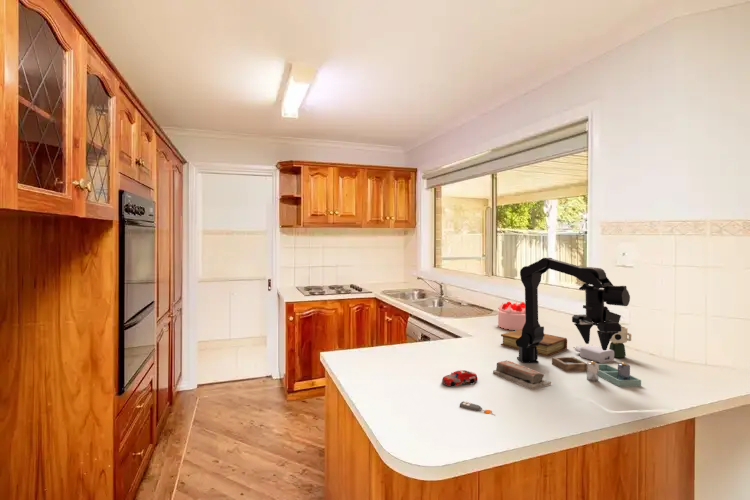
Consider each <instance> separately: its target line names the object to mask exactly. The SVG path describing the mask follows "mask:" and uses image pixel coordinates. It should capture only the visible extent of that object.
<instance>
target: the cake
mask: <svg viewBox="0 0 750 500" xmlns="http://www.w3.org/2000/svg"><path fill="white" fill-rule="evenodd" d="M497 308H498V315H497V317H498V318H497V323H498V324H497V325H498V327H499V328H500V327H501V329H503V328H504V329H503V330H507V329H509V330H508V331H513V330H519V329H522V328H523V326H524V324H525V321H526V317H525V301H522V302H520V303H518V302H517V301H516V302H515V303H512V302H511V301H507V302H506V303H504V302H502V303H501V304H500V305H499V306H498V307H497Z"/></svg>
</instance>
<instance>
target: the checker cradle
mask: <svg viewBox="0 0 750 500" xmlns="http://www.w3.org/2000/svg"><path fill="white" fill-rule="evenodd" d="M563 361H572V362H574V363H565V362H563ZM551 365H552V366H555V367H558V368H559V369H560V370H563V371H564V372H580V371H581V372H585V371H586V372H587V362H585V361H582V360H581V359H578V358H576V357H575V356H553V357H552V356H551Z"/></svg>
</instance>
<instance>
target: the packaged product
mask: <svg viewBox="0 0 750 500" xmlns="http://www.w3.org/2000/svg"><path fill="white" fill-rule="evenodd" d="M492 374H493V375H496V376H498V377H500V378H502V379H505V380H508V381H510V382H512V383H515V384H517V385H519V386H522V387H525V388H527V389H530V390H531V391H533V390H536V389H541V388H545V387H547V386H550V385H552V382H551V381H548V380H545V379H543V378H544V376H545V375H544V374H545V373H542V372H539V371H538V370H534V369H532V368H528V367H526V366H524V365H522V364H518V363H516V362H514V361H511V360H508V359H507V360H502V361H497V362H496V369H493V371H492Z"/></svg>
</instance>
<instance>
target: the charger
mask: <svg viewBox="0 0 750 500" xmlns="http://www.w3.org/2000/svg"><path fill="white" fill-rule="evenodd" d="M572 348H573V349H574V351H575V352H578V353H579V356H580V358H583V359H586V360H590V361H594V362H595V363H598V364H605V363H608V362H613V361H615V357H614V351H613V350H610V349H609V348H607V349H606V350H603V349H602V347H601V346H599V345H598V346H597V345H594V344H589V345H584V346H582V345H579V346H575V347H574V346H573V347H572Z"/></svg>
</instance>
